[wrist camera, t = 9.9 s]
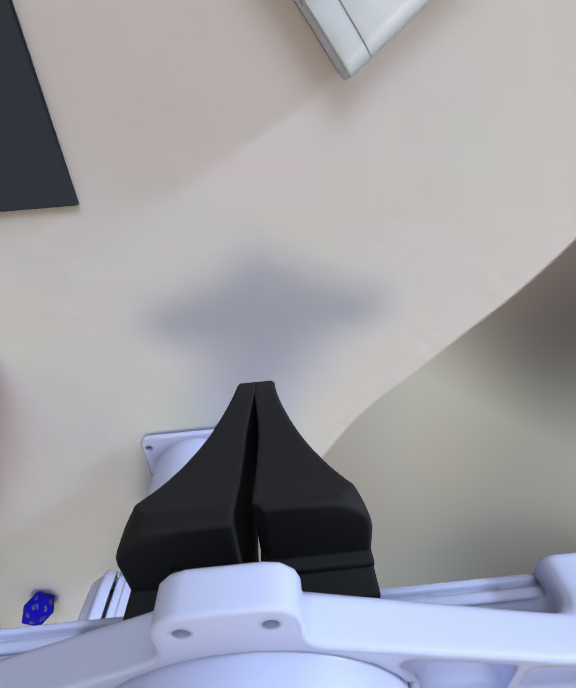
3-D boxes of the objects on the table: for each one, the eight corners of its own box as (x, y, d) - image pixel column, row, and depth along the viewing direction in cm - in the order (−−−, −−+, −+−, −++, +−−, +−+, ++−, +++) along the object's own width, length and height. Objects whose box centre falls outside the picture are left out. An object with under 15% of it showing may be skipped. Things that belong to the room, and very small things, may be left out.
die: (56, 585, 38) (57, 620, 37) (52, 587, 40) (53, 620, 38) (22, 596, 36) (23, 633, 35) (20, 597, 38) (20, 633, 37)
